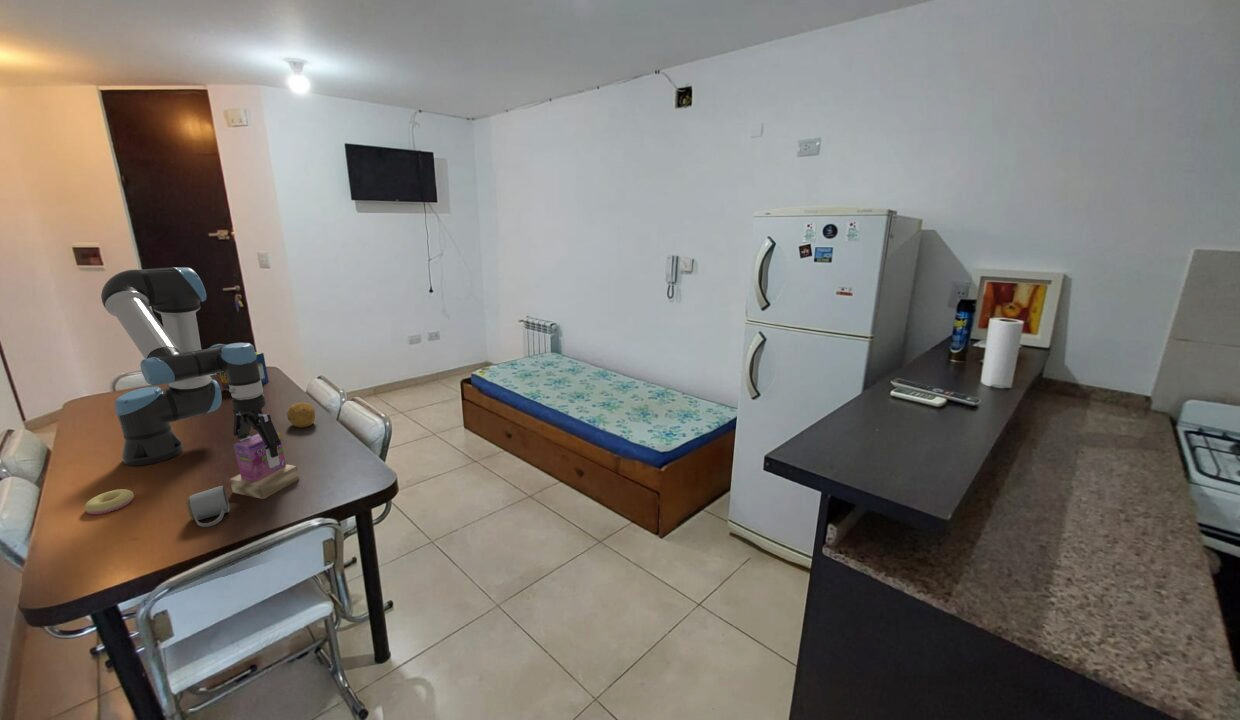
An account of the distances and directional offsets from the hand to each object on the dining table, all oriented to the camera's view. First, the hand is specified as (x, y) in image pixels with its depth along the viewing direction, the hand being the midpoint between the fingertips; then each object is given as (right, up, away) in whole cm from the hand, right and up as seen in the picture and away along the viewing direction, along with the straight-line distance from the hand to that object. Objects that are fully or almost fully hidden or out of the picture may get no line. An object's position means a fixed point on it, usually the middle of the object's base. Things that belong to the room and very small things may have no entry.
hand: (261, 461), depth 147 cm
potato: (-17, +5, +45) cm, 49 cm away
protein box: (-72, +18, +87) cm, 114 cm away
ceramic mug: (-4, -13, -13) cm, 19 cm away
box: (0, -4, +1) cm, 4 cm away
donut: (-36, -11, -9) cm, 39 cm away
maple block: (0, -8, +2) cm, 9 cm away
